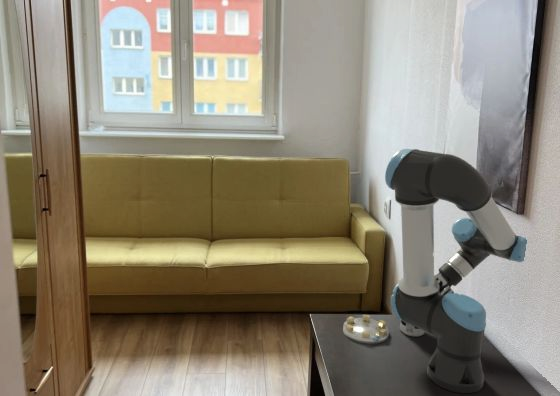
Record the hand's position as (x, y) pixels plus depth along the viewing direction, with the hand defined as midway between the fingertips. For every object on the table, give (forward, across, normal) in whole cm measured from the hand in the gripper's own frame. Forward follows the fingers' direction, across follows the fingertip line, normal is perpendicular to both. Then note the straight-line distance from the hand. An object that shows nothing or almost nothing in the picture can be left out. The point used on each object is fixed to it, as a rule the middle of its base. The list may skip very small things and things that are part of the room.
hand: (404, 316), depth 162 cm
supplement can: (+2, 0, -6) cm, 7 cm away
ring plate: (+13, +1, +5) cm, 14 cm away
